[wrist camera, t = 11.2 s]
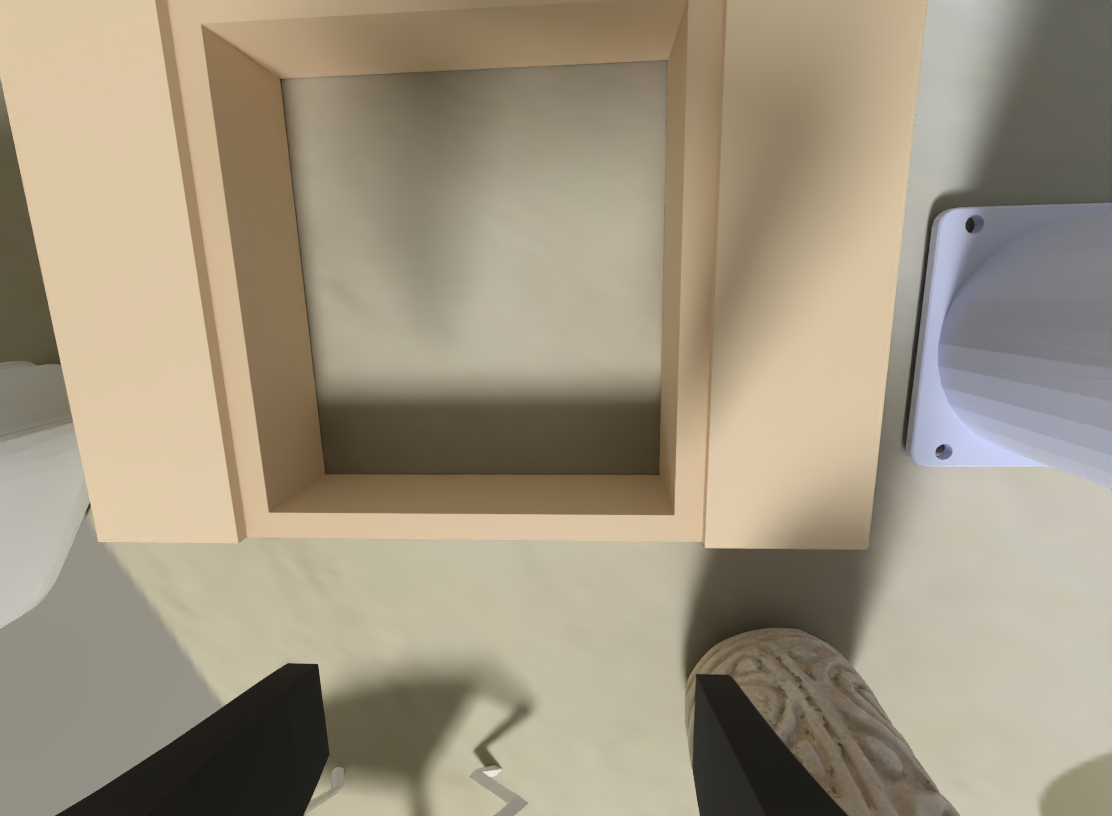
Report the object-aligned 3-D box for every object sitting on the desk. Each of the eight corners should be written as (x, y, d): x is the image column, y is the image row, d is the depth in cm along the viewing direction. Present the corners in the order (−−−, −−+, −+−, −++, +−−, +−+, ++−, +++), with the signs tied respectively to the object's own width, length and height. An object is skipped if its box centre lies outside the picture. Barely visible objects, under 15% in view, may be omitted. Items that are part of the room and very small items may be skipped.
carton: (850, 20, 15) (935, -70, 12) (811, 497, 18) (868, 549, 15) (118, 58, 17) (-19, -10, 13) (192, 494, 20) (98, 541, 16)
